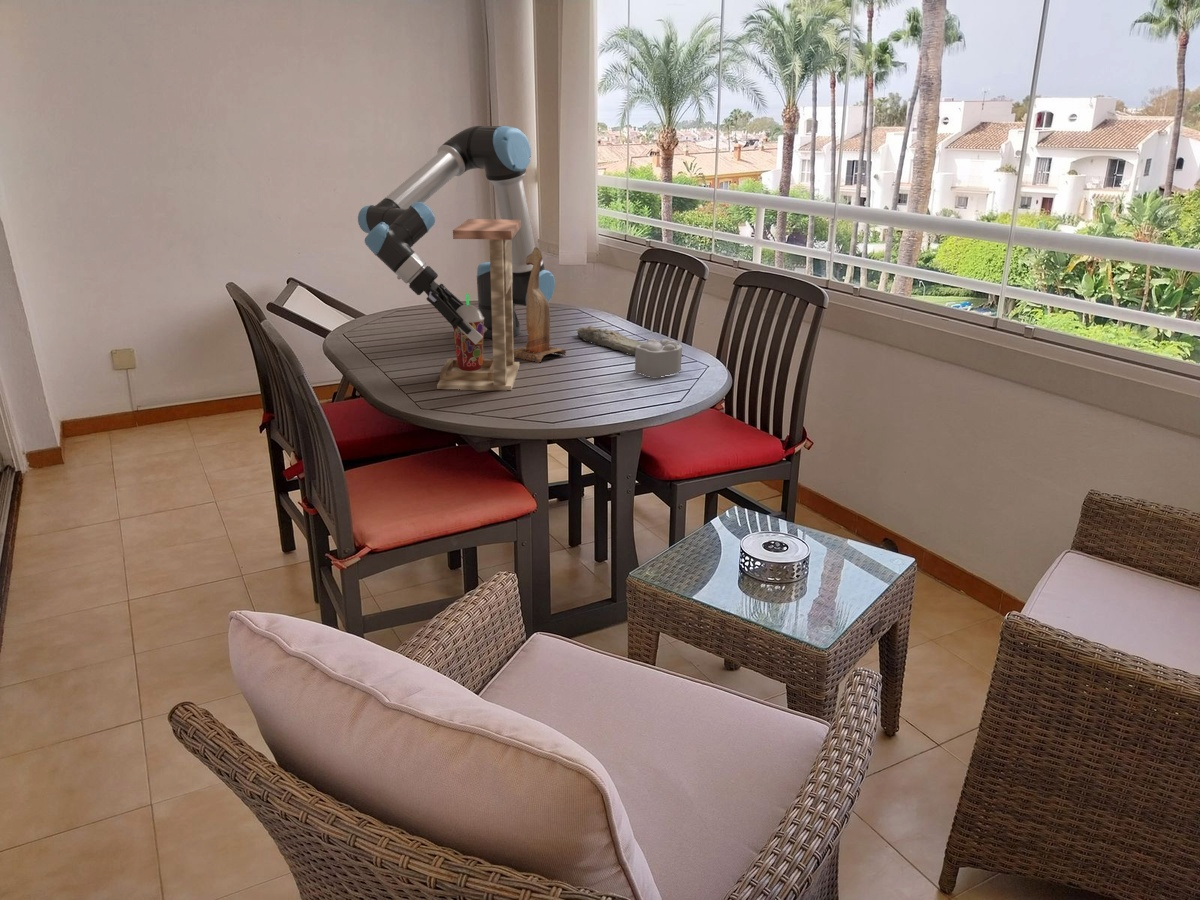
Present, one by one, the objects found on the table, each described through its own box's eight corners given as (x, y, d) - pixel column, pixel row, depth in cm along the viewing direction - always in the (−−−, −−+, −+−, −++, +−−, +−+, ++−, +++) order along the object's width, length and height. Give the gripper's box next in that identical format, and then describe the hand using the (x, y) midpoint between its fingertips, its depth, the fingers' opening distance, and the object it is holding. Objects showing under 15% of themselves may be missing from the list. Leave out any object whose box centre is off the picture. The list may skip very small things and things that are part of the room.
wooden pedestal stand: (436, 390, 221) (427, 229, 207) (452, 364, 245) (445, 218, 231) (514, 391, 221) (511, 231, 207) (523, 365, 246) (520, 219, 231)
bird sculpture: (536, 351, 262) (531, 243, 251) (566, 356, 256) (563, 245, 245) (512, 358, 254) (506, 247, 243) (543, 364, 247) (538, 250, 236)
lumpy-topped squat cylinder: (630, 371, 242) (630, 340, 239) (665, 364, 249) (667, 334, 246) (653, 379, 234) (655, 348, 231) (690, 372, 241) (691, 341, 238)
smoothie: (479, 373, 228) (477, 297, 221) (449, 371, 229) (446, 295, 222) (489, 365, 235) (487, 292, 228) (460, 363, 237) (457, 290, 230)
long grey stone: (638, 365, 253) (663, 362, 259) (640, 348, 251) (665, 345, 257) (567, 336, 278) (592, 334, 284) (569, 320, 276) (593, 318, 282)
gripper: (415, 278, 234) (477, 337, 240) (399, 292, 215) (466, 356, 220) (434, 258, 233) (495, 318, 238) (419, 271, 213) (486, 336, 219)
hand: (481, 336), depth 229 cm, fingers closed on smoothie, 8 cm apart
